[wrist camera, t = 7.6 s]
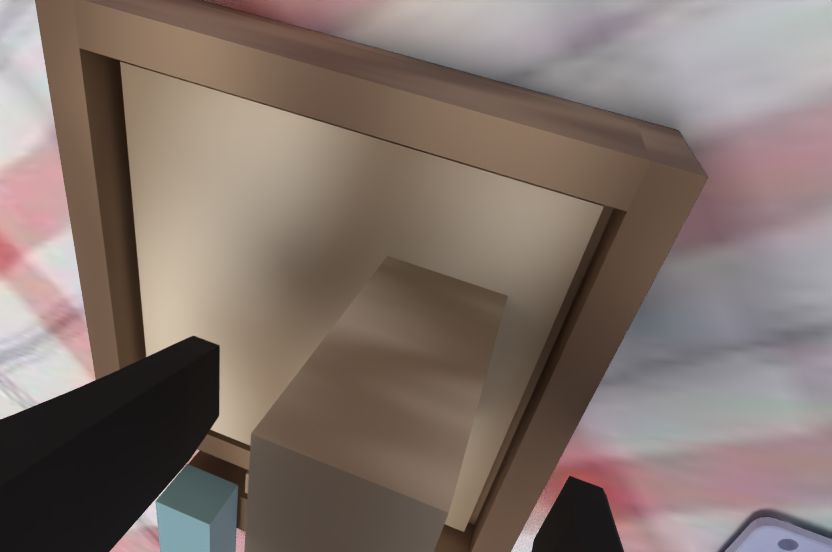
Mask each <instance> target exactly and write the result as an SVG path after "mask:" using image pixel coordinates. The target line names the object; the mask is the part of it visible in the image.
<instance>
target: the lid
mask: <svg viewBox="0 0 832 552" xmlns="http://www.w3.org/2000/svg"><path fill="white" fill-rule="evenodd" d="M120 66H121V77H122V88H123V100H124V111H125V122H126V133H127V145H128V156H129V167H130V178H131V190H132V201H133V212H134V223H135V235H136V246H137V257H138V268H139V280H140V291H141V302H142V313H143V325H144V336H145V347H146V357H148V356H150V355H152V354H154V353H156V352H158V351H160V350H162V349H165V348H167V347H169V346H171V345H173V344H175V343H178V342H180V341H182V340H184V339H187V338H189V337H191V336H196V337H199V338H201V339H204V340H207V341H209V342H212V343H215V344H217V345H220V390H219V417H218V419H217V420H216V422H215V423H214V425H213V426H212V428H211V429H210V430H213V431H215V432H218V433H220V434H223V435H225V436H228V437H230V438H233V439H235V440H238V441H240V442H242V443H245V444H247V445H250V462H249V480H248V498H247V516H246V534H245V552H434V549H435V547H436V544H437V542H438V539H439V537H440V534H441V531H442V529H443V526H444V524H445V525H448V526H450V527H453V528H455V529H458V530H460V531H463V532H464V531H465V529H466V526H467V524H468V522H469V519H470V517H471V515H472V512H473V510H474V508H475V505H476V503H477V501H478V498H479V496H480V494H481V491H482V489H483V487H484V484H485V482H486V480H487V477H488V475H489V473H490V470H491V468H492V466H493V463H494V461H495V459H496V456H497V454H498V452H499V449H500V447H501V445H502V442H503V440H504V438H505V435H506V433H507V431H508V428H509V426H510V424H511V421H512V419H513V417H514V415H515V412H516V410H517V408H518V405H519V403H520V401H521V398H522V396H523V394H524V391H525V389H526V387H527V384H528V382H529V380H530V377H531V375H532V373H533V370H534V368H535V366H536V363H537V361H538V359H539V356H540V354H541V352H542V349H543V347H544V345H545V342H546V340H547V338H548V335H549V333H550V331H551V328H552V326H553V324H554V321H555V319H556V317H557V314H558V312H559V310H560V307H561V305H562V303H563V300H564V298H565V296H566V293H567V291H568V289H569V287H570V284H571V282H572V280H573V277H574V275H575V273H576V270H577V268H578V266H579V263H580V261H581V259H582V256H583V254H584V252H585V249H586V247H587V245H588V242H589V240H590V238H591V235H592V233H593V231H594V228H595V226H596V224H597V221H598V219H599V217H600V214H601V212H602V210H603V207H604V205H603V204H600V203H596V202H593V201H590V200H586V199H583V198H580V197H576V196H573V195H570V194H566V193H563V192H560V191H556V190H553V189H549V188H546V187H543V186H539V185H536V184H533V183H529V182H526V181H523V180H519V179H516V178H513V177H509V176H506V175H503V174H499V173H496V172H493V171H489V170H486V169H483V168H479V167H476V166H472V165H469V164H466V163H462V162H459V161H456V160H452V159H449V158H446V157H442V156H439V155H436V154H432V153H429V152H426V151H422V150H419V149H416V148H412V147H409V146H406V145H402V144H399V143H396V142H392V141H389V140H385V139H382V138H379V137H375V136H372V135H369V134H365V133H362V132H359V131H355V130H352V129H349V128H345V127H342V126H339V125H335V124H332V123H329V122H325V121H322V120H319V119H315V118H312V117H309V116H305V115H302V114H298V113H295V112H292V111H288V110H285V109H282V108H278V107H275V106H272V105H268V104H265V103H262V102H258V101H255V100H252V99H248V98H245V97H242V96H238V95H235V94H232V93H228V92H225V91H221V90H218V89H215V88H211V87H208V86H205V85H201V84H198V83H195V82H191V81H188V80H185V79H181V78H178V77H175V76H171V75H168V74H165V73H161V72H158V71H155V70H151V69H148V68H145V67H141V66H138V65H134V64H131V63H128V62H124V61H122V62H120Z"/></svg>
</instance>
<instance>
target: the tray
mask: <svg viewBox="0 0 832 552" xmlns="http://www.w3.org/2000/svg"><path fill="white" fill-rule="evenodd" d="M35 3H36V9H37V15H38V22H39V28H40V34H41V40H42V47H43V53H44V59H45V65H46V72H47V78H48V84H49V90H50V96H51V103H52V109H53V115H54V121H55V128H56V134H57V140H58V146H59V153H60V159H61V165H62V171H63V178H64V184H65V190H66V196H67V203H68V209H69V215H70V221H71V228H72V234H73V240H74V246H75V252H76V259H77V265H78V271H79V277H80V284H81V290H82V296H83V302H84V309H85V315H86V321H87V327H88V334H89V340H90V346H91V352H92V359H93V365H94V371H95V377H96V380H97V379H100V378H102V377H104V376H106V375H108V374H111V373H113V372H115V371H117V370H120V369H122V368H124V367H126V366H128V365H130V364H133V363H135V362H137V361H139V360H141V359H143V358H145V357H146V347H145V336H144V325H143V313H142V302H141V291H140V280H139V268H138V257H137V246H136V235H135V223H134V212H133V201H132V190H131V178H130V167H129V156H128V145H127V133H126V122H125V111H124V100H123V88H122V77H121V66H120V62H122V61H124V62H128V63H131V64H134V65H138V66H141V67H145V68H148V69H151V70H155V71H158V72H161V73H165V74H168V75H171V76H175V77H178V78H181V79H185V80H188V81H191V82H195V83H198V84H201V85H205V86H208V87H211V88H215V89H218V90H221V91H225V92H228V93H232V94H235V95H238V96H242V97H245V98H248V99H252V100H255V101H258V102H262V103H265V104H268V105H272V106H275V107H278V108H282V109H285V110H288V111H292V112H295V113H298V114H302V115H305V116H309V117H312V118H315V119H319V120H322V121H325V122H329V123H332V124H335V125H339V126H342V127H345V128H349V129H352V130H355V131H359V132H362V133H365V134H369V135H372V136H375V137H379V138H382V139H385V140H389V141H392V142H396V143H399V144H402V145H406V146H409V147H412V148H416V149H419V150H422V151H426V152H429V153H432V154H436V155H439V156H442V157H446V158H449V159H452V160H456V161H459V162H462V163H466V164H469V165H472V166H476V167H479V168H483V169H486V170H489V171H493V172H496V173H499V174H503V175H506V176H509V177H513V178H516V179H519V180H523V181H526V182H529V183H533V184H536V185H539V186H543V187H546V188H549V189H553V190H556V191H560V192H563V193H566V194H570V195H573V196H576V197H580V198H583V199H586V200H590V201H593V202H596V203H600V204H603V205H604V207H603V210H602V212H601V214H600V217H599V219H598V221H597V224H596V226H595V228H594V231H593V233H592V235H591V238H590V240H589V242H588V245H587V247H586V249H585V252H584V254H583V256H582V259H581V261H580V263H579V266H578V268H577V270H576V273H575V275H574V277H573V280H572V282H571V284H570V287H569V289H568V291H567V293H566V296H565V298H564V300H563V303H562V305H561V307H560V310H559V312H558V314H557V317H556V319H555V321H554V324H553V326H552V328H551V331H550V333H549V335H548V338H547V340H546V342H545V345H544V347H543V349H542V352H541V354H540V356H539V359H538V361H537V363H536V366H535V368H534V370H533V373H532V375H531V377H530V380H529V382H528V384H527V387H526V389H525V391H524V394H523V396H522V398H521V401H520V403H519V405H518V408H517V410H516V412H515V415H514V417H513V419H512V421H511V424H510V426H509V428H508V431H507V433H506V435H505V438H504V440H503V442H502V445H501V447H500V449H499V452H498V454H497V456H496V459H495V461H494V463H493V466H492V468H491V470H490V473H489V475H488V477H487V480H486V482H485V484H484V487H483V489H482V491H481V494H480V496H479V498H478V501H477V503H476V505H475V508H474V510H473V512H472V515H471V517H470V519H469V522H468V524H467V526H466V529H465V531H464V532H463V531H460V530H458V529H455V528H453V527H450V526H448V525H445V524H444V526H443V529H442V531H441V534H440V537H439V539H438V542H437V544H436V547H435V549H434V552H511V550H512V548H513V546H514V544H515V543H516V541H517V539H518V537H519V535H520V533H521V531H522V529H523V527H524V525H525V524H526V522H527V520H528V518H529V516H530V514H531V512H532V510H533V508H534V507H535V505H536V503H537V501H538V499H539V497H540V495H541V493H542V491H543V489H544V488H545V486H546V484H547V482H548V480H549V478H550V476H551V474H552V472H553V471H554V469H555V467H556V465H557V463H558V461H559V459H560V457H561V455H562V453H563V452H564V450H565V448H566V446H567V444H568V442H569V440H570V438H571V436H572V435H573V433H574V431H575V429H576V427H577V425H578V423H579V421H580V419H581V417H582V416H583V414H584V412H585V410H586V408H587V406H588V404H589V402H590V400H591V399H592V397H593V395H594V393H595V391H596V389H597V387H598V385H599V383H600V381H601V380H602V378H603V376H604V374H605V372H606V370H607V368H608V366H609V364H610V363H611V361H612V359H613V357H614V355H615V353H616V351H617V349H618V347H619V345H620V344H621V342H622V340H623V338H624V336H625V334H626V332H627V330H628V328H629V327H630V325H631V323H632V321H633V319H634V317H635V315H636V313H637V311H638V309H639V308H640V306H641V304H642V302H643V300H644V298H645V296H646V294H647V292H648V290H649V289H650V287H651V285H652V283H653V281H654V279H655V277H656V275H657V273H658V272H659V270H660V268H661V266H662V264H663V262H664V260H665V258H666V256H667V254H668V253H669V251H670V249H671V247H672V245H673V243H674V241H675V239H676V237H677V236H678V234H679V232H680V230H681V228H682V226H683V224H684V222H685V220H686V218H687V217H688V215H689V213H690V211H691V209H692V207H693V205H694V203H695V201H696V200H697V198H698V196H699V194H700V192H701V190H702V188H703V186H704V184H705V182H706V181H707V179H708V176H707V174H706V173H705V171H704V170H703V168H702V166H701V165H700V163H699V162H698V160H697V159H696V157H695V155H694V154H693V152H692V151H691V149H690V148H689V146H688V144H687V143H686V141H685V140H684V138H683V136H682V135H681V133H680V132H679V130H675V129H671V128H668V127H664V126H660V125H657V124H653V123H649V122H646V121H642V120H638V119H635V118H631V117H627V116H624V115H620V114H616V113H613V112H609V111H605V110H602V109H598V108H594V107H591V106H587V105H583V104H580V103H576V102H572V101H569V100H565V99H561V98H558V97H554V96H550V95H547V94H543V93H539V92H536V91H532V90H528V89H525V88H521V87H517V86H514V85H510V84H506V83H503V82H499V81H495V80H492V79H488V78H484V77H481V76H477V75H473V74H470V73H466V72H462V71H459V70H455V69H451V68H448V67H444V66H440V65H437V64H433V63H429V62H426V61H422V60H418V59H415V58H411V57H407V56H404V55H400V54H396V53H393V52H389V51H385V50H382V49H378V48H374V47H371V46H367V45H363V44H360V43H356V42H352V41H349V40H345V39H341V38H338V37H334V36H330V35H327V34H323V33H319V32H316V31H312V30H308V29H305V28H301V27H297V26H294V25H290V24H286V23H283V22H279V21H275V20H272V19H268V18H264V17H261V16H257V15H253V14H250V13H246V12H242V11H239V10H235V9H231V8H228V7H224V6H220V5H217V4H213V3H209V2H206V1H202V0H35ZM197 449H198V450H200V451H199V452H198V453H197V455H196V456H195V457H194V458H193V459H192V460H191V462H190V463H189V465H191V466H193V467H196V468H198V469H201V470H203V471H205V472H208V473H210V474H213V475H215V476H217V477H220V478H222V479H224V480H227V481H229V482H232V483H234V484H236V485H238V500H237V525H236V528H239V529H241V530H243V531H246V516H247V498H248V480H249V462H250V445H247V444H245V443H242V442H240V441H238V440H235V439H233V438H230V437H228V436H225V435H223V434H220V433H218V432H215V431H213V430H210V431H209V432H208V434H207V435H206V437H205V438H204V440H203V441H202V443H201V444H200V445H199V447H198V448H197Z"/></svg>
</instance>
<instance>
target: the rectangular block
mask: <svg viewBox="0 0 832 552" xmlns="http://www.w3.org/2000/svg"><path fill="white" fill-rule="evenodd" d="M237 500H238V485H236V484H234V483H232V482H229V481H227V480H224V479H222V478H220V477H217V476H215V475H213V474H210V473H208V472H205V471H203V470H201V469H198V468H196V467H193V466H191V465H189V464H187V465H186V466H185V468H184V469H183V470H182V471H181V472H180V473H179V475H178V476H177V477H176V478H175V479H174V480H173V482H172V483H171V484H170V485H169V486H168V487H167V489H166V490H165V491H164V492H163V493H162V495H161V496H160V497H159V498H158V499H157V500H156V510H157V521H158V532H159V542H160V552H235V551H236V525H237Z"/></svg>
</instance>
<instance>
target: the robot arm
mask: <svg viewBox="0 0 832 552" xmlns="http://www.w3.org/2000/svg"><path fill="white" fill-rule="evenodd" d="M219 390H220V345H217V344H215V343H212V342H209V341H207V340H204V339H201V338H199V337H196V336H191V337H189V338H187V339H184V340H182V341H180V342H178V343H175V344H173V345H171V346H169V347H167V348H165V349H162V350H160V351H158V352H156V353H154V354H152V355H150V356H148V357H145V358H143V359H141V360H139V361H137V362H135V363H133V364H130V365H128V366H126V367H124V368H122V369H120V370H117V371H115V372H113V373H111V374H108V375H106V376H104V377H102V378H100V379H97V380H95V381H93V382H91V383H89V384H86V385H84V386H82V387H80V388H77V389H75V390H73V391H70V392H68V393H65V394H63V395H60V396H58V397H55V398H53V399H51V400H48V401H46V402H43V403H41V404H38V405H36V406H33V407H31V408H29V409H26V410H24V411H21V412H19V413H16V414H14V415H11V416H9V417H6V418H3V419H1V420H0V552H109V551H110V550H111V549H112V548H113V547H114V546H115V545H116V543H117V542H118V541H119V540H120V539H121V538H122V537H123V536H124V534H125V533H126V532H127V531H128V530H129V529H130V528H131V526H132V525H133V524H134V523H135V522H136V521H137V520H138V518H139V517H140V516H141V515H142V514H143V513H144V512H145V510H146V509H147V508H148V507H149V506H150V505H151V504H152V502H153V501H154V500H155V499H156V498H157V497H158V496H159V494H160V493H161V492H162V491H163V490H164V489H165V488H166V486H167V485H168V484H169V483H170V482H171V481H172V479H173V478H174V477H175V476H176V475H177V474H178V472H179V471H180V470H181V469H182V468H183V467H184V465H185V464H186V463H187V462H188V461H189V459H190V458H191V457H192V455H193V454H194V452H195V451H196V450H197V448H198V447H199V445H200V444H201V443H202V441H203V440H204V438H205V437H206V435H207V434H208V432H209V431H210V429H211V428H212V426H213V425H214V423H215V422H216V420H217V419H218V417H219ZM532 552H624V550H623V547H622V544H621V541H620V538H619V535H618V532H617V528H616V525H615V522H614V519H613V516H612V513H611V509H610V506H609V503H608V500H607V496H606V494H605V492H604V490H603V488H601V487H598V486H595V485H593V484H590V483H587V482H585V481H582V480H579V479H576V478H574V477H571V476H569V478H568V480H567V481H566V483H565V485H564V487H563V489H562V490H561V492H560V494H559V496H558V498H557V499H556V501H555V503H554V505H553V507H552V508H551V510H550V512H549V514H548V515H547V517H546V519H545V521H544V523H543V524H542V526H541V528H540V530H539V532H538V533H537V535H536V537H535V539H534V542H533V548H532ZM725 552H832V539H830V538H827V537H824V536H822V535H819V534H816V533H814V532H811V531H808V530H805V529H803V528H800V527H797V526H794V525H792V524H789V523H786V522H784V521H781V520H778V519H775V518H771V517H761V518H758V519H755V520H754V521H753V522H751V523H750V524H749V525H748V527H747V528H746V529H745V530H744V531H743V532H742V533H741V534H740V535H739V536H738V538H737V539H736V540H735V541H734V542H733V543H732V544H731V545H730V546H729V547H728V549H727V550H726V551H725Z"/></svg>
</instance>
